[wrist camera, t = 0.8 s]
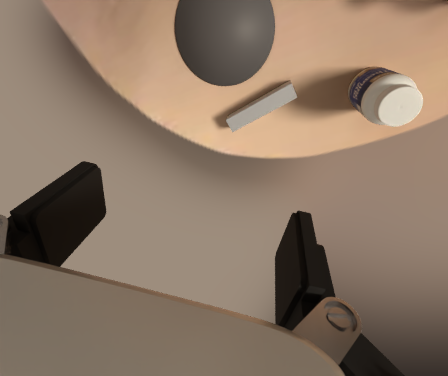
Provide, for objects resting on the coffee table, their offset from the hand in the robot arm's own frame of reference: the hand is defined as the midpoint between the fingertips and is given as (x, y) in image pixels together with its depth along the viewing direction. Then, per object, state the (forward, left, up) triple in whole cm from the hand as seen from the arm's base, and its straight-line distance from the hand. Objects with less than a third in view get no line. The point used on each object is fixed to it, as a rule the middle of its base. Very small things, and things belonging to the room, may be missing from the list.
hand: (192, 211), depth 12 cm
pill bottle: (-15, +7, -29) cm, 33 cm away
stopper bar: (-1, +3, -29) cm, 29 cm away
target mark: (-1, -8, -29) cm, 30 cm away
